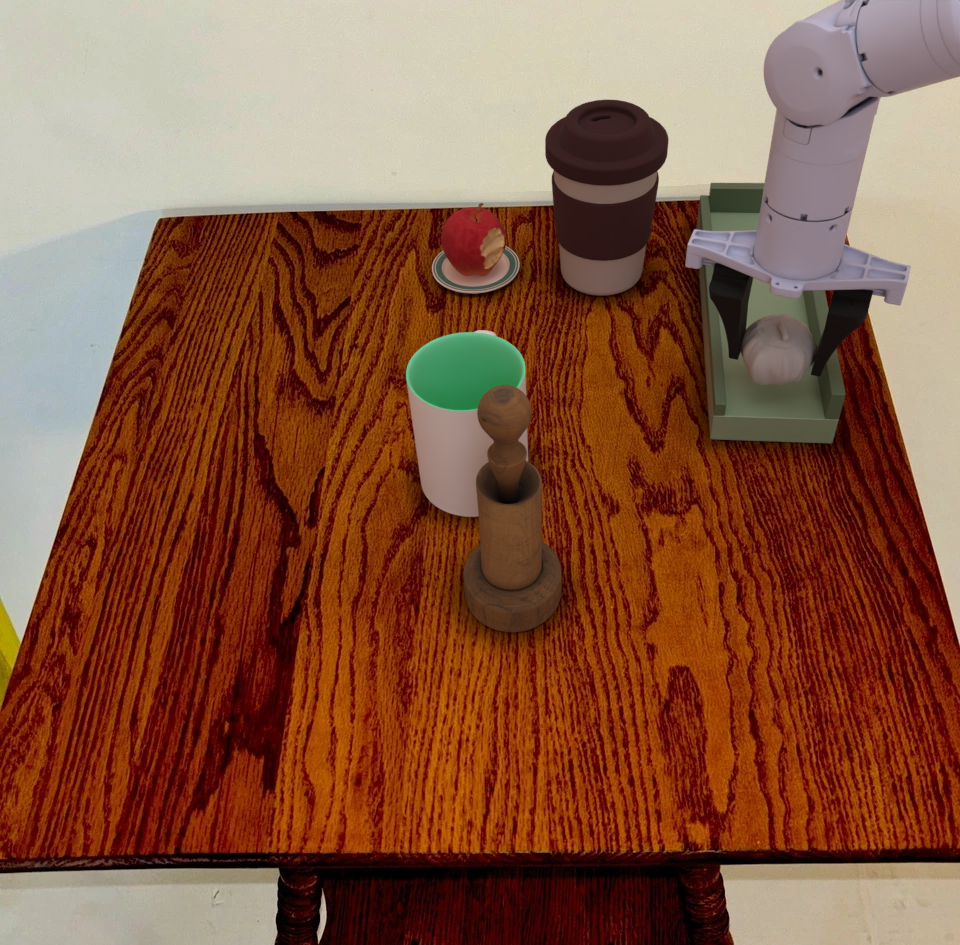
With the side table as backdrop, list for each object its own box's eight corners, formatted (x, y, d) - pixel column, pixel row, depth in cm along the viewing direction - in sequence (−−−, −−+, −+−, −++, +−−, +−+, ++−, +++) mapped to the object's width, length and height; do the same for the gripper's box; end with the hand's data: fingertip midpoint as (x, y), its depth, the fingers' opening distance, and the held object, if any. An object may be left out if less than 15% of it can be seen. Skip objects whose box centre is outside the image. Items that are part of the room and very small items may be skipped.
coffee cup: (644, 315, 89) (656, 157, 78) (533, 298, 91) (530, 142, 81) (666, 250, 95) (680, 95, 84) (562, 235, 98) (562, 83, 87)
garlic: (796, 409, 75) (809, 353, 71) (724, 387, 77) (733, 332, 73) (821, 360, 78) (834, 304, 74) (751, 340, 80) (761, 285, 76)
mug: (436, 401, 83) (424, 296, 75) (536, 404, 82) (534, 298, 74) (412, 513, 75) (396, 408, 67) (523, 519, 74) (520, 413, 66)
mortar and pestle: (555, 638, 67) (555, 441, 54) (457, 628, 68) (433, 432, 55) (566, 558, 71) (568, 358, 58) (473, 549, 72) (455, 351, 59)
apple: (524, 247, 97) (522, 185, 92) (514, 299, 92) (511, 236, 87) (440, 243, 98) (434, 182, 93) (425, 295, 93) (418, 233, 88)
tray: (832, 444, 77) (846, 394, 74) (710, 439, 78) (717, 390, 75) (794, 230, 96) (803, 183, 93) (696, 229, 97) (701, 182, 94)
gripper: (681, 212, 66) (665, 372, 76) (920, 251, 62) (870, 415, 72) (707, 157, 71) (689, 315, 81) (931, 190, 66) (883, 353, 76)
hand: (775, 358), depth 76 cm, fingers closed on garlic, 5 cm apart
